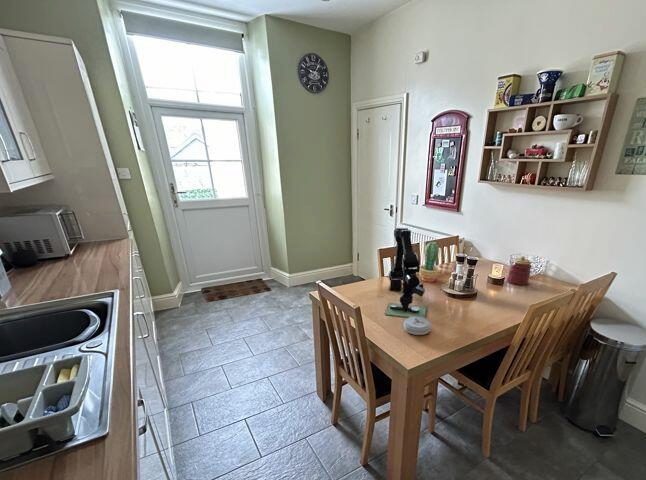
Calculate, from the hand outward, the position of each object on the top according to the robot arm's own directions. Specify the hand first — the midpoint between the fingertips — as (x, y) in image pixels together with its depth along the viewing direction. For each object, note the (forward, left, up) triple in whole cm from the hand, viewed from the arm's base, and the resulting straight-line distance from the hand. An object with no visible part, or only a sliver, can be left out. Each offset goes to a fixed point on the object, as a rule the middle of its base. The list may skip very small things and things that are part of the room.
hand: (406, 308), depth 172 cm
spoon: (-1, 0, -1) cm, 2 cm away
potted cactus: (+9, +53, -2) cm, 54 cm away
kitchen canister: (+67, +64, -2) cm, 93 cm away
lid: (+7, -19, -2) cm, 20 cm away
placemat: (0, 0, -2) cm, 2 cm away
